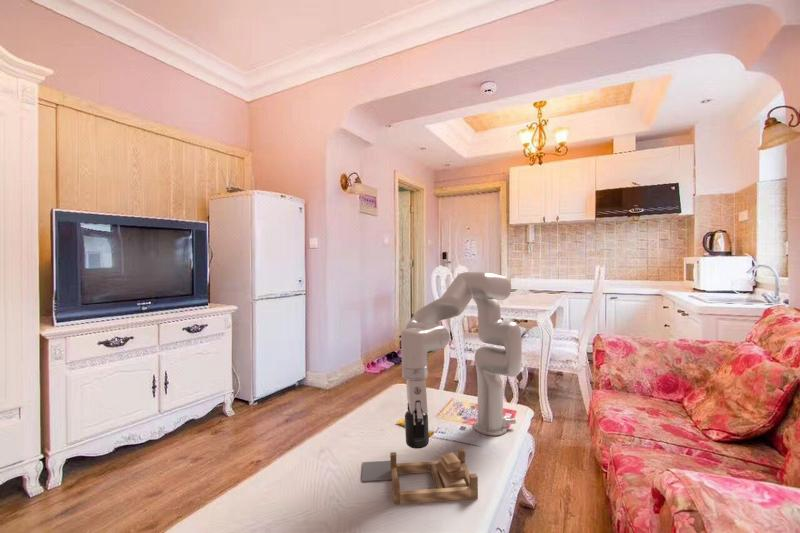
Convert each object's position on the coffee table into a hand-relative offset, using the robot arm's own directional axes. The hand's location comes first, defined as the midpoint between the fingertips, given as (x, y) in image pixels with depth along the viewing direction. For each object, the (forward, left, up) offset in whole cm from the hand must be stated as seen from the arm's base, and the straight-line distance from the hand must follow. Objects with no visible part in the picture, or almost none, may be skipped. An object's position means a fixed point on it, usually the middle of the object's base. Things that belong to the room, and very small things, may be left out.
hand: (416, 430), depth 107 cm
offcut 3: (-10, +1, -17) cm, 19 cm away
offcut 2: (-10, 0, -14) cm, 17 cm away
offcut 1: (-10, +1, -11) cm, 15 cm away
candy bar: (-4, -34, -17) cm, 38 cm away
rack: (-4, 0, -16) cm, 17 cm away
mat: (+11, -8, -16) cm, 21 cm away
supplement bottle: (0, 0, -4) cm, 4 cm away
